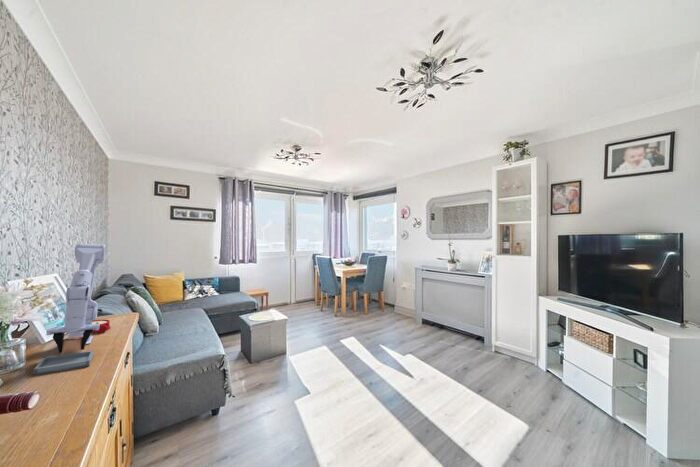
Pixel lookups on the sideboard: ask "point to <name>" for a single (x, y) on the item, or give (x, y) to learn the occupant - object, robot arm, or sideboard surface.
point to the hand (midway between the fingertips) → (71, 350)
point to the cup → (72, 345)
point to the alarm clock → (101, 325)
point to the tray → (63, 362)
